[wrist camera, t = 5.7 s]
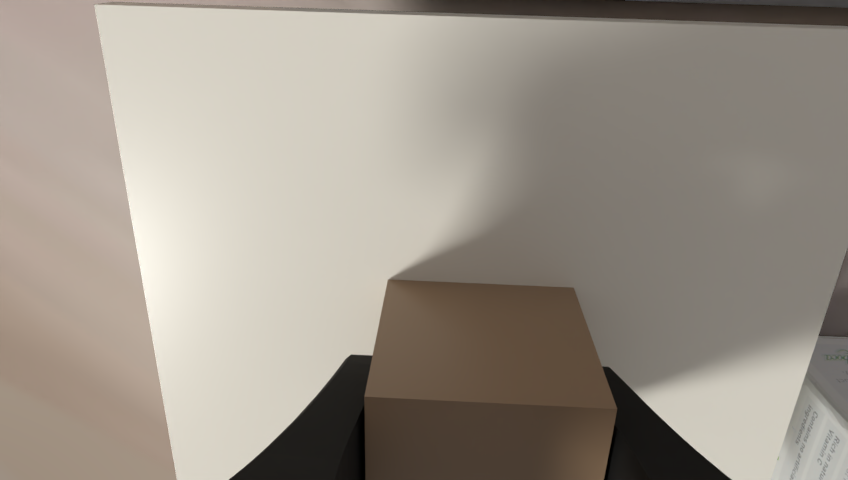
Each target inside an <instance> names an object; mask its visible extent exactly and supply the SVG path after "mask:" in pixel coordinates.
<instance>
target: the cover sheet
mask: <svg viewBox="0 0 848 480" xmlns="http://www.w3.org/2000/svg"><path fill="white" fill-rule="evenodd" d="M94 6H95V12H96V17H97V23H98V29H99V35H100V40H101V46H102V52H103V58H104V63H105V69H106V75H107V81H108V86H109V92H110V98H111V104H112V109H113V115H114V121H115V127H116V132H117V138H118V144H119V149H120V155H121V161H122V167H123V172H124V178H125V184H126V190H127V195H128V201H129V207H130V213H131V218H132V224H133V230H134V236H135V241H136V247H137V253H138V259H139V264H140V270H141V276H142V282H143V287H144V293H145V299H146V305H147V310H148V316H149V322H150V328H151V333H152V339H153V345H154V351H155V356H156V362H157V368H158V374H159V379H160V385H161V391H162V397H163V402H164V408H165V414H166V420H167V425H168V431H169V437H170V443H171V448H172V454H173V460H174V466H175V471H176V477H177V480H229V479H230V478H231V477H233V476H234V475H235V474H236V473H238V472H239V471H240V470H241V469H242V468H244V467H245V466H246V465H247V464H248V463H250V462H251V461H252V460H253V459H254V458H255V457H256V456H258V455H259V454H260V453H261V452H262V451H263V450H264V449H265V448H266V447H267V446H269V445H270V444H271V443H272V442H273V441H274V440H275V439H276V438H277V437H278V436H279V435H280V434H281V433H282V432H283V431H284V430H285V429H286V428H287V427H288V426H289V425H290V424H291V423H292V422H293V421H294V420H295V419H296V418H297V417H298V416H299V414H300V413H301V412H302V411H303V410H304V409H305V408H306V407H307V406H308V404H309V403H310V402H311V401H312V400H313V399H314V398H315V397H316V396H317V394H318V393H319V392H320V391H321V390H322V388H323V387H324V386H325V385H326V384H327V382H328V381H329V380H330V379H331V377H332V376H333V375H334V374H335V372H336V371H337V370H338V368H339V367H340V366H341V364H342V363H343V362H344V360H345V359H346V358H347V357H349V356H350V355H351V354H352V355H373V356H372V361H371V366H370V371H369V376H368V381H367V386H366V391H365V396H364V405H365V480H604V477H605V471H606V466H607V461H608V456H609V450H610V445H611V440H612V435H613V429H614V424H615V419H616V413H617V407H616V404H615V401H614V398H613V396H612V393H611V390H610V387H609V385H608V382H607V379H606V376H605V373H604V371H603V368H602V366H604V367H610V368H611V369H612V370H613V371H614V372H615V373H616V374H617V375H618V376H619V377H620V378H621V379H622V380H623V381H624V382H625V383H626V384H627V385H628V386H629V387H630V388H631V389H632V390H633V391H634V392H635V393H636V394H637V395H638V396H639V397H640V398H641V399H642V400H643V401H644V402H645V403H646V404H647V405H648V406H649V407H650V408H651V409H652V410H653V411H654V412H655V413H656V414H657V415H658V416H659V417H660V418H661V419H663V420H664V421H665V422H666V423H667V424H668V425H669V426H670V427H671V428H672V429H673V430H674V431H675V432H676V433H677V434H679V435H680V436H681V437H682V438H683V439H684V440H685V441H686V442H687V443H689V444H690V445H691V446H692V447H693V448H694V449H695V450H696V451H698V452H699V453H700V454H701V455H702V456H704V457H705V458H706V459H707V460H708V461H710V462H711V463H712V464H713V465H714V466H716V467H717V468H718V469H719V470H720V471H722V472H723V473H724V474H725V475H726V476H728V477H729V478H730V479H732V480H771V477H772V474H773V471H774V468H775V465H776V462H777V459H778V456H779V453H780V450H781V447H782V444H783V441H784V438H785V435H786V432H787V429H788V426H789V423H790V420H791V417H792V414H793V411H794V408H795V405H796V402H797V399H798V396H799V393H800V390H801V387H802V384H803V381H804V378H805V375H806V372H807V369H808V366H809V363H810V360H811V357H812V354H813V351H814V348H815V345H816V342H817V339H818V336H819V333H820V330H821V327H822V324H823V321H824V318H825V315H826V312H827V309H828V306H829V303H830V300H831V296H832V293H833V290H834V287H835V284H836V281H837V278H838V275H839V272H840V269H841V266H842V263H843V260H844V257H845V254H846V251H847V248H848V26H830V25H799V24H769V23H739V22H708V21H678V20H647V19H617V18H587V17H556V16H526V15H496V14H465V13H435V12H405V11H374V10H344V9H314V8H283V7H253V6H223V5H192V4H162V3H132V2H108V3H101V4H94Z"/></svg>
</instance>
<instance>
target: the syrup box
mask: <svg viewBox="0 0 848 480" xmlns="http://www.w3.org/2000/svg"><path fill="white" fill-rule="evenodd" d="M771 480H848V337H832V336H818V339H817V342H816V345H815V348H814V351H813V354H812V357H811V360H810V363H809V366H808V369H807V372H806V375H805V378H804V381H803V384H802V387H801V390H800V393H799V396H798V399H797V402H796V405H795V408H794V411H793V414H792V417H791V420H790V423H789V426H788V429H787V432H786V435H785V438H784V441H783V444H782V447H781V450H780V453H779V456H778V459H777V462H776V465H775V468H774V471H773V474H772V477H771Z"/></svg>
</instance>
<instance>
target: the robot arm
mask: <svg viewBox="0 0 848 480" xmlns="http://www.w3.org/2000/svg"><path fill="white" fill-rule="evenodd" d="M372 356H373V355H352V354H351V355H350V356H349V357H347V358H346V359H345V360H344V362H343V363H342V364H341V366H340V367H339V368H338V370H337V371H336V372H335V374H334V375H333V376H332V377H331V379H330V380H329V381H328V382H327V384H326V385H325V386H324V387H323V388H322V390H321V391H320V392H319V393H318V394H317V396H316V397H315V398H314V399H313V400H312V401H311V402H310V403H309V404H308V406H307V407H306V408H305V409H304V410H303V411H302V412H301V413H300V414H299V416H298V417H297V418H296V419H295V420H294V421H293V422H292V423H291V424H290V425H289V426H288V427H287V428H286V429H285V430H284V431H283V432H282V433H281V434H280V435H279V436H278V437H277V438H276V439H275V440H274V441H273V442H272V443H271V444H270V445H269V446H267V447H266V448H265V449H264V450H263V451H262V452H261V453H260V454H259V455H258V456H256V457H255V458H254V459H253V460H252V461H251V462H250V463H248V464H247V465H246V466H245V467H244V468H242V469H241V470H240V471H239V472H238V473H236V474H235V475H234V476H233V477H231V478H230V479H229V480H365V405H364V396H365V391H366V386H367V381H368V376H369V371H370V366H371V361H372ZM602 368H603V371H604V373H605V376H606V379H607V382H608V385H609V387H610V390H611V393H612V396H613V398H614V401H615V404H616V407H617V413H616V419H615V424H614V429H613V435H612V440H611V445H610V450H609V456H608V461H607V466H606V471H605V477H604V480H732V479H730V478H729V477H728V476H726V475H725V474H724V473H723V472H722V471H720V470H719V469H718V468H717V467H716V466H714V465H713V464H712V463H711V462H710V461H708V460H707V459H706V458H705V457H704V456H702V455H701V454H700V453H699V452H698V451H696V450H695V449H694V448H693V447H692V446H691V445H690V444H689V443H687V442H686V441H685V440H684V439H683V438H682V437H681V436H680V435H679V434H677V433H676V432H675V431H674V430H673V429H672V428H671V427H670V426H669V425H668V424H667V423H666V422H665V421H664V420H663V419H661V418H660V417H659V416H658V415H657V414H656V413H655V412H654V411H653V410H652V409H651V408H650V407H649V406H648V405H647V404H646V403H645V402H644V401H643V400H642V399H641V398H640V397H639V396H638V395H637V394H636V393H635V392H634V391H633V390H632V389H631V388H630V387H629V386H628V385H627V384H626V383H625V382H624V381H623V380H622V379H621V378H620V377H619V376H618V375H617V374H616V373H615V372H614V371H613V370H612V369H611V368H610V367H604V366H602Z"/></svg>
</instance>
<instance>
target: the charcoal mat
mask: <svg viewBox="0 0 848 480" xmlns="http://www.w3.org/2000/svg"><path fill="white" fill-rule="evenodd" d="M627 1H658V2H689V3H720V4H751V5H782V6H813V7H844V8H848V0H627Z"/></svg>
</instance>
